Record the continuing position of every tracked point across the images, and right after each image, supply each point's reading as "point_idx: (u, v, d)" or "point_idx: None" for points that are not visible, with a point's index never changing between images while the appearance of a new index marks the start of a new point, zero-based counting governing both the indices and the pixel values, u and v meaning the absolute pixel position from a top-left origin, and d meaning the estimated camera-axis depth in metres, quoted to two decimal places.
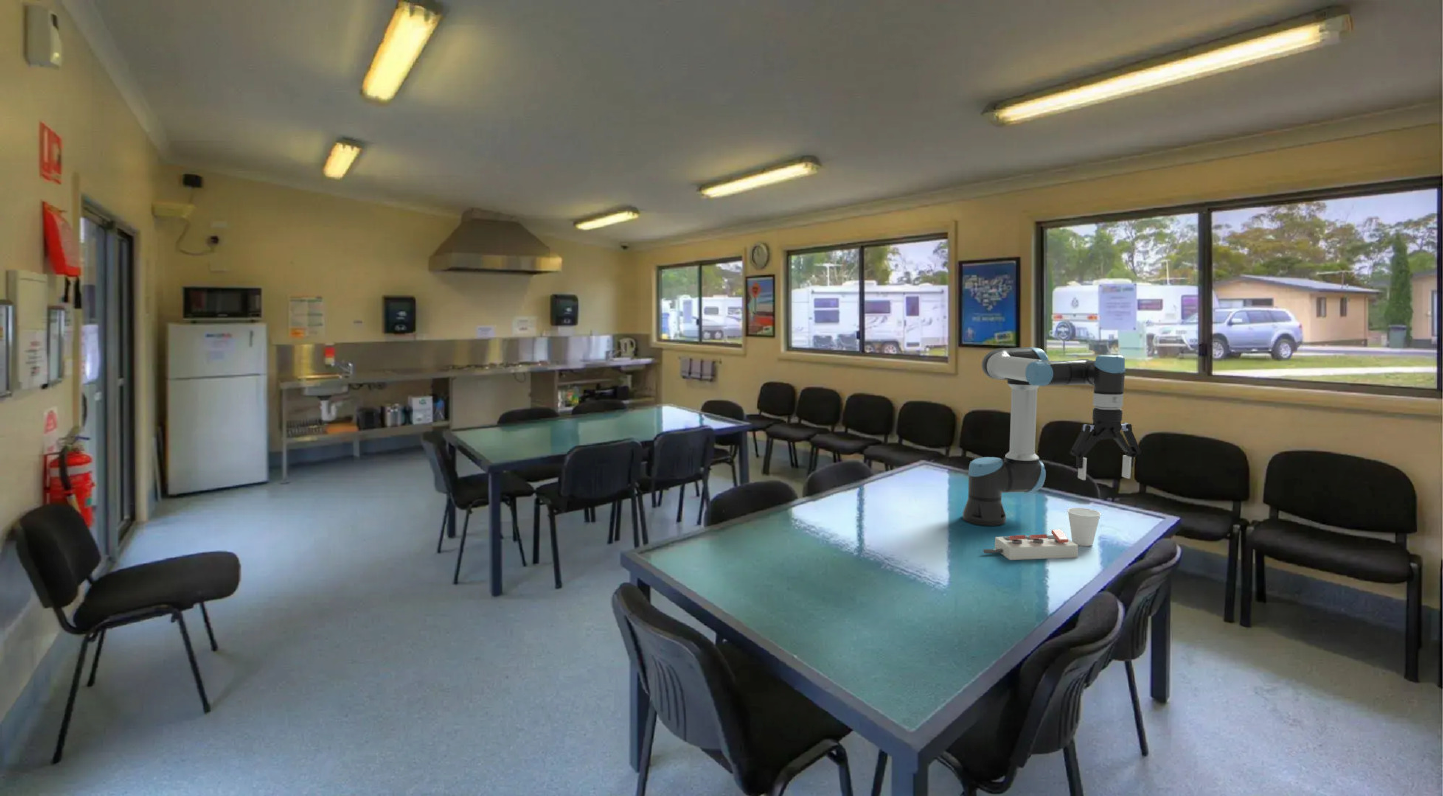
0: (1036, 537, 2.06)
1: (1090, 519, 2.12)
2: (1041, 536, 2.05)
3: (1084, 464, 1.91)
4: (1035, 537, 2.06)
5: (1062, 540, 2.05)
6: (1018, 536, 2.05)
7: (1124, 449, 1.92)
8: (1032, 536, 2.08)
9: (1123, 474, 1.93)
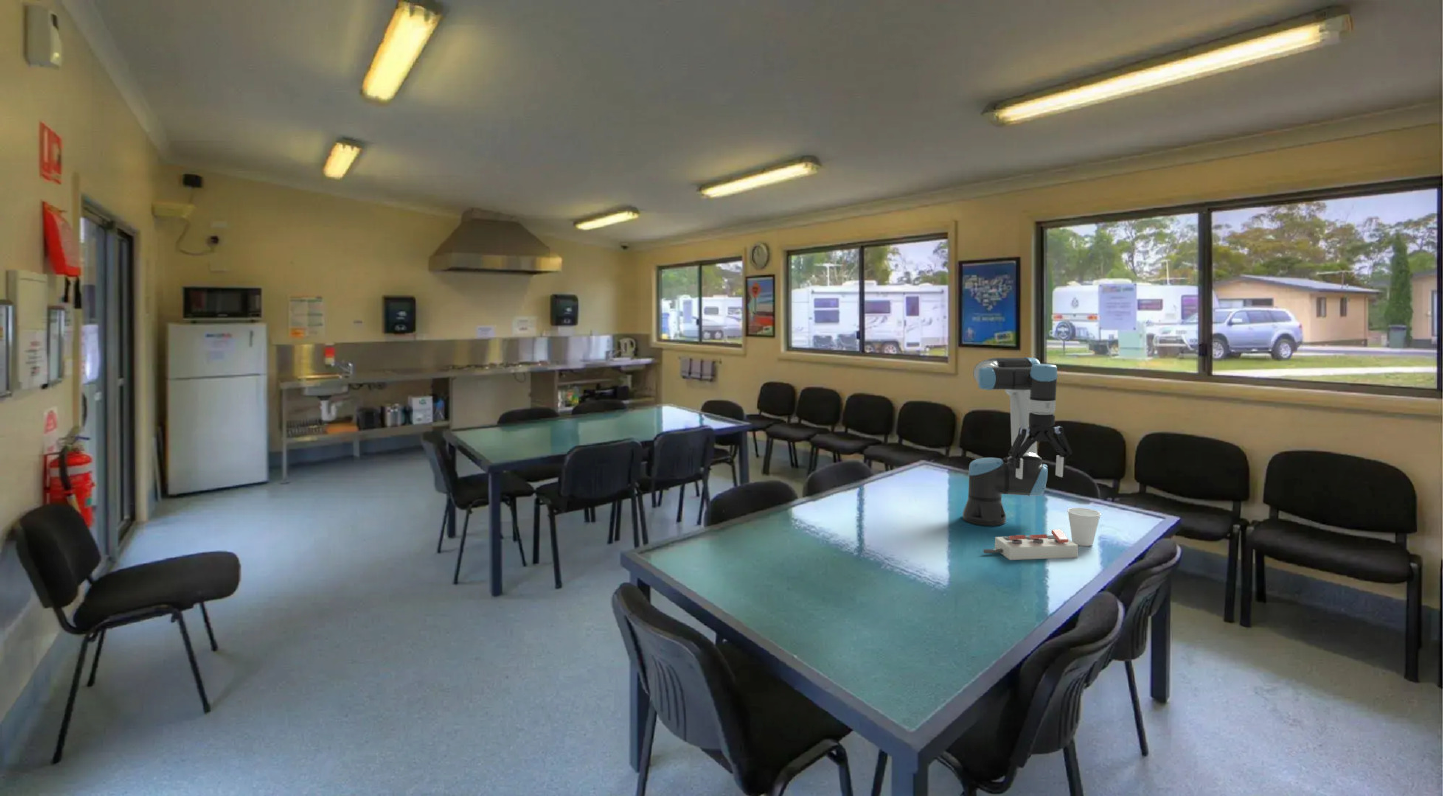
0: (1036, 537, 2.06)
1: (1090, 519, 2.12)
2: (1041, 536, 2.05)
3: (1021, 464, 2.07)
4: (1035, 537, 2.06)
5: (1062, 540, 2.05)
6: (1018, 536, 2.05)
7: (1057, 450, 2.09)
8: (1032, 536, 2.08)
9: (1056, 472, 2.11)
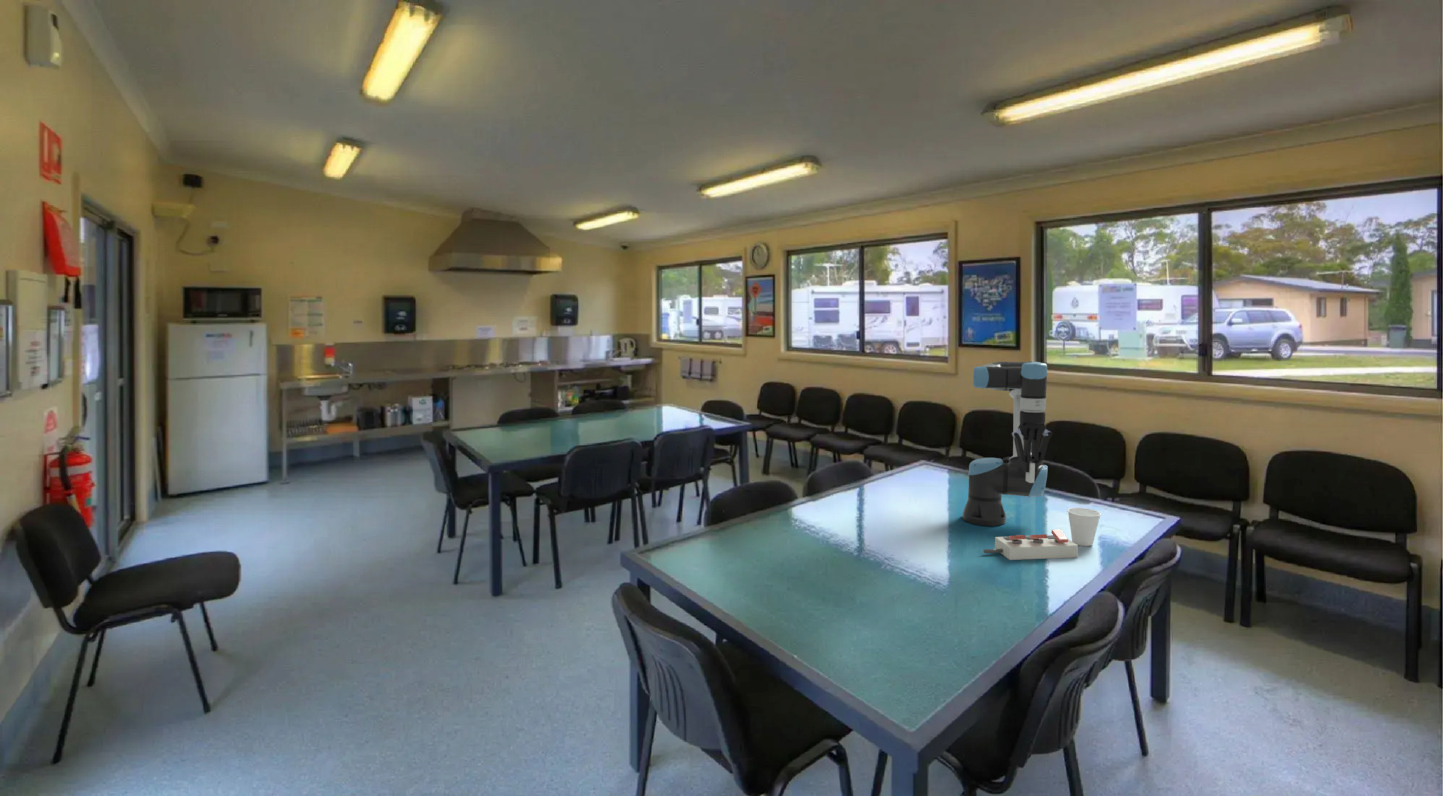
0: (1036, 537, 2.06)
1: (1090, 519, 2.12)
2: (1041, 536, 2.05)
3: (1030, 468, 2.10)
4: (1035, 537, 2.06)
5: (1062, 540, 2.05)
6: (1018, 536, 2.05)
7: (1033, 453, 2.11)
8: (1032, 536, 2.08)
9: None
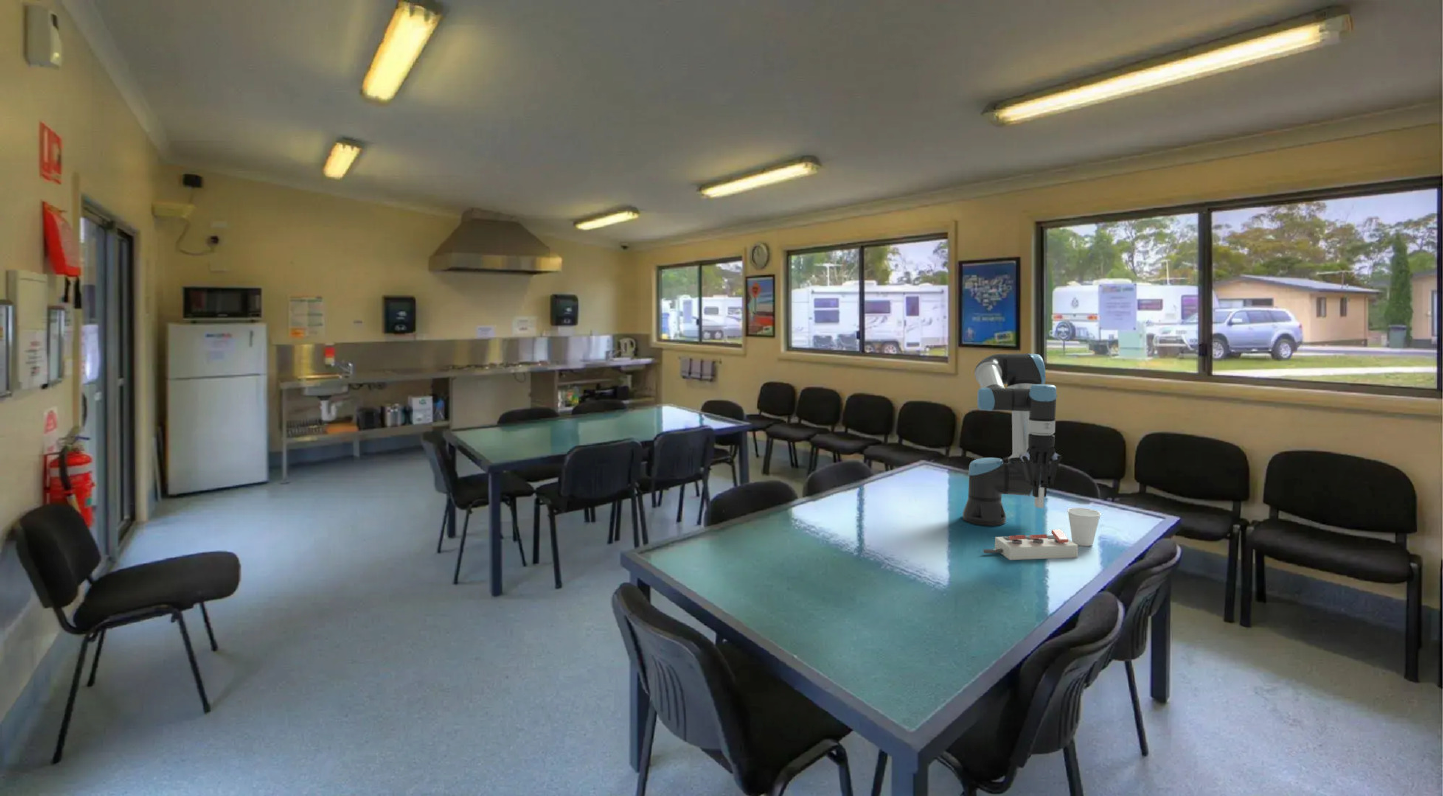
0: (1036, 537, 2.06)
1: (1090, 519, 2.12)
2: (1041, 536, 2.05)
3: (1039, 493, 2.04)
4: (1035, 537, 2.06)
5: (1062, 540, 2.05)
6: (1018, 536, 2.05)
7: (1042, 477, 2.05)
8: (1032, 536, 2.08)
9: None
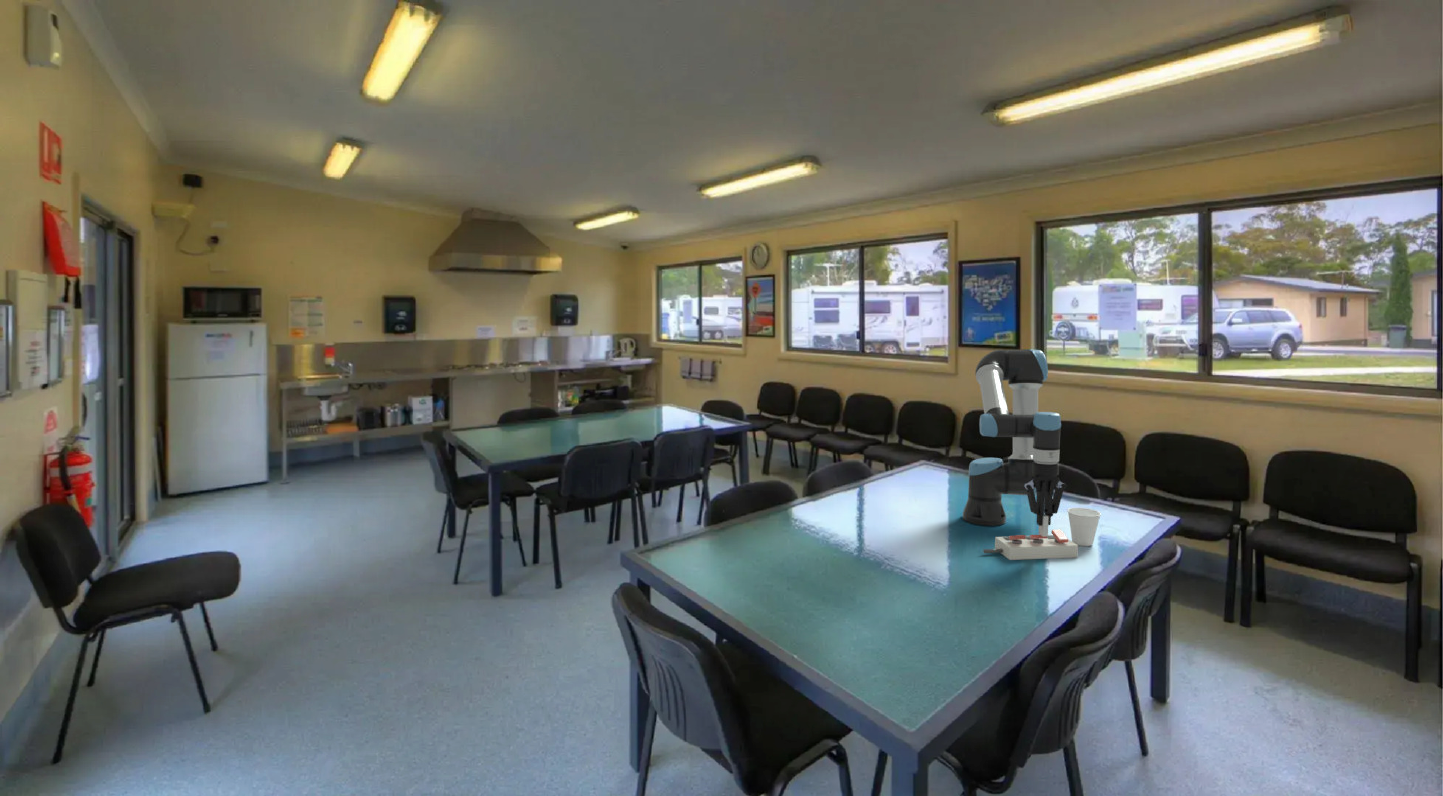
0: (1036, 537, 2.06)
1: (1090, 519, 2.12)
2: (1041, 536, 2.05)
3: (1044, 521, 2.03)
4: (1035, 537, 2.06)
5: (1062, 540, 2.05)
6: (1018, 536, 2.05)
7: (1046, 505, 2.03)
8: (1032, 536, 2.08)
9: None
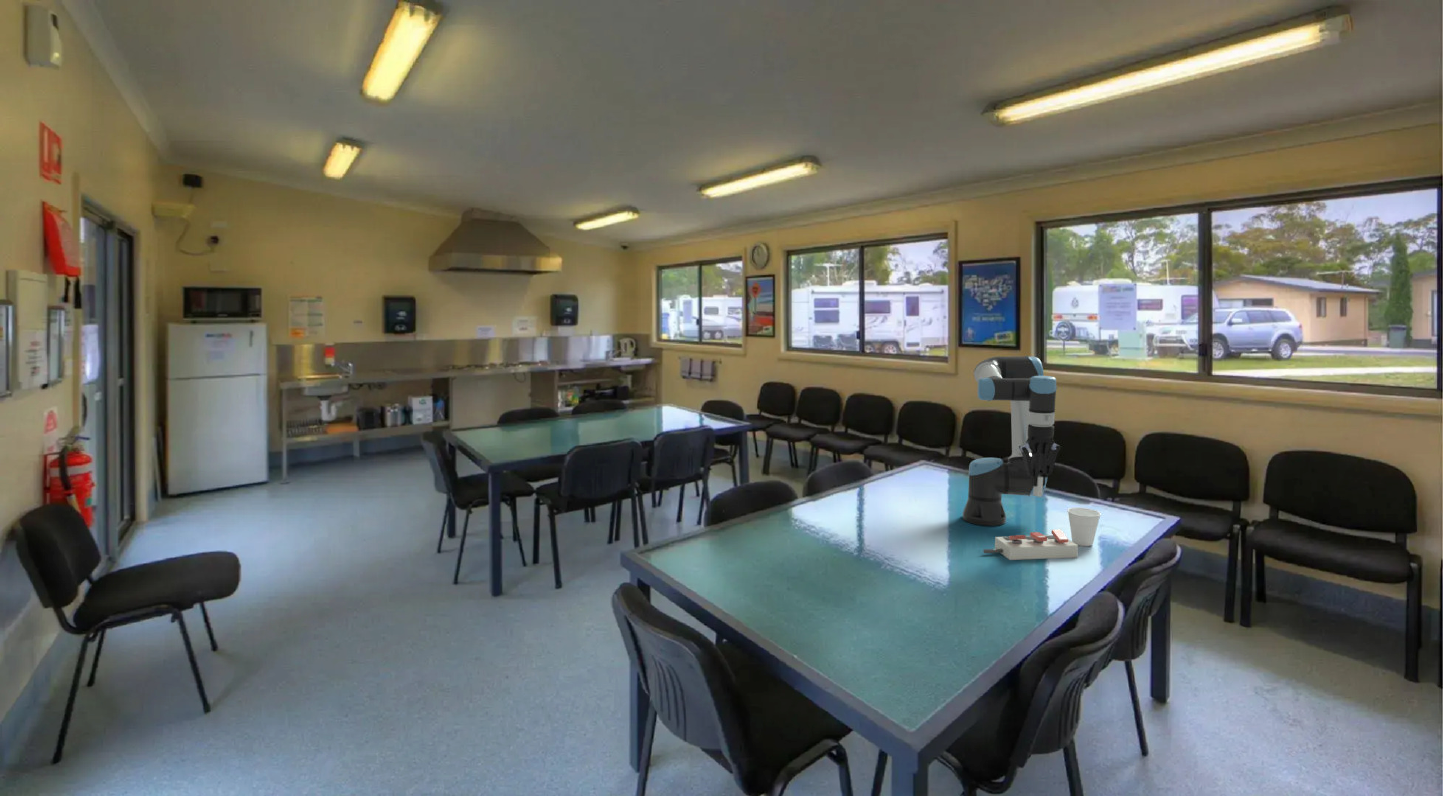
0: (1036, 538, 2.06)
1: (1090, 519, 2.12)
2: (1041, 539, 2.05)
3: (1038, 482, 2.08)
4: (1035, 538, 2.07)
5: (1062, 540, 2.05)
6: (1018, 536, 2.05)
7: (1041, 467, 2.08)
8: (1032, 535, 2.08)
9: None
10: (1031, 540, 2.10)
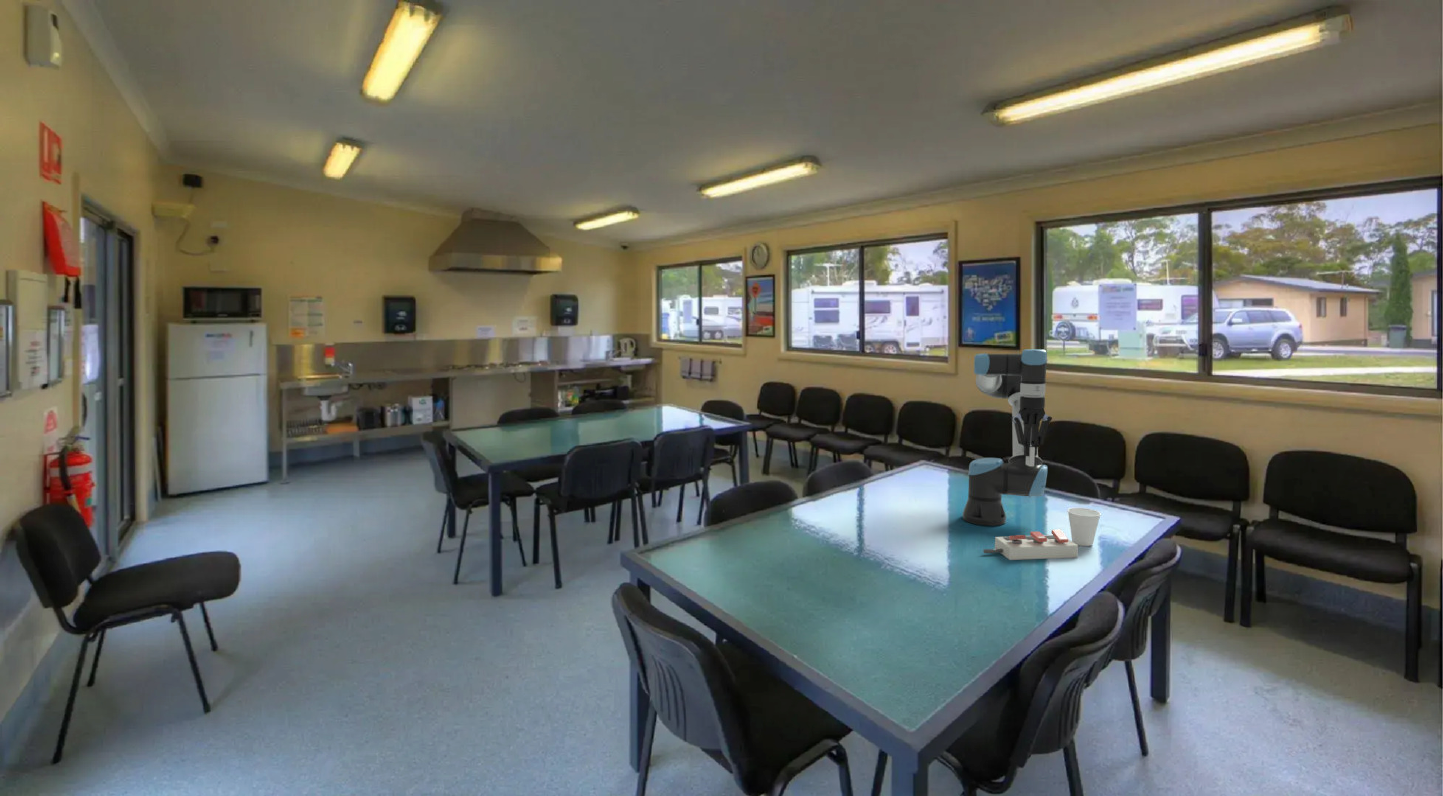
0: (1036, 539, 2.06)
1: (1090, 519, 2.12)
2: (1041, 540, 2.05)
3: (1030, 452, 2.15)
4: (1035, 538, 2.07)
5: (1062, 540, 2.05)
6: (1018, 536, 2.05)
7: (1033, 437, 2.16)
8: (1032, 534, 2.08)
9: None
10: (1031, 540, 2.10)
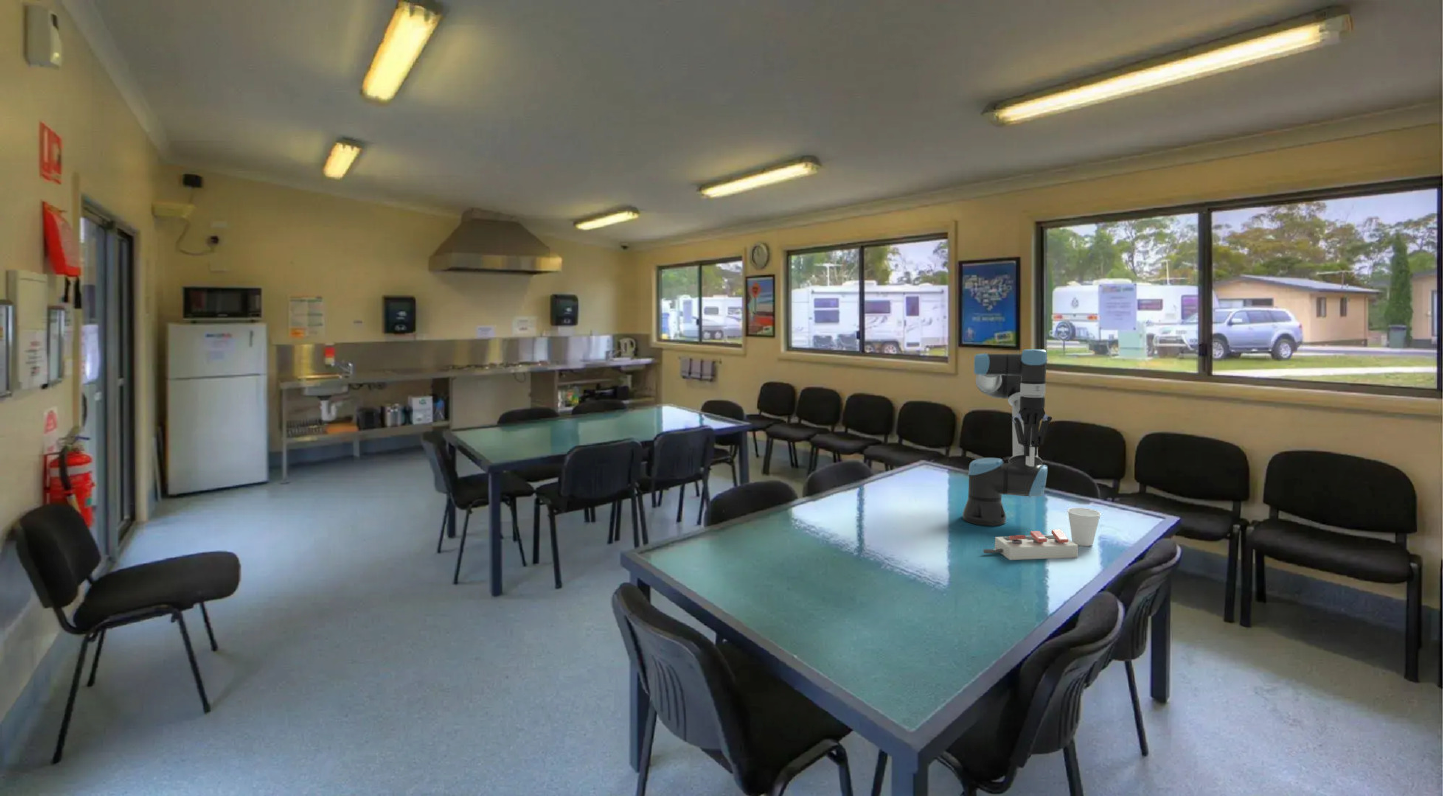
0: (1036, 539, 2.06)
1: (1090, 519, 2.12)
2: (1041, 540, 2.05)
3: (1030, 452, 2.15)
4: (1035, 538, 2.07)
5: (1062, 540, 2.05)
6: (1018, 536, 2.05)
7: (1033, 437, 2.16)
8: (1032, 534, 2.08)
9: None
10: (1031, 540, 2.10)
